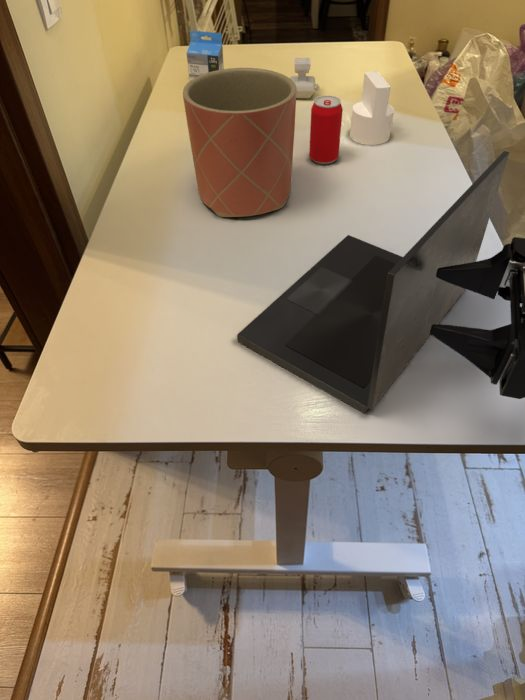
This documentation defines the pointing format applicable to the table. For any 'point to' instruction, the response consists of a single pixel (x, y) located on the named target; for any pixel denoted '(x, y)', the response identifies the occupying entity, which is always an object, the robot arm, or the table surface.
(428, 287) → the laptop screen
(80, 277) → the table surface
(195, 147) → the planter
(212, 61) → the ink cartridge box
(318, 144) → the beverage can
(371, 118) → the cylinder with rectangular tab
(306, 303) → the laptop
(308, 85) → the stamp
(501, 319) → the table surface
